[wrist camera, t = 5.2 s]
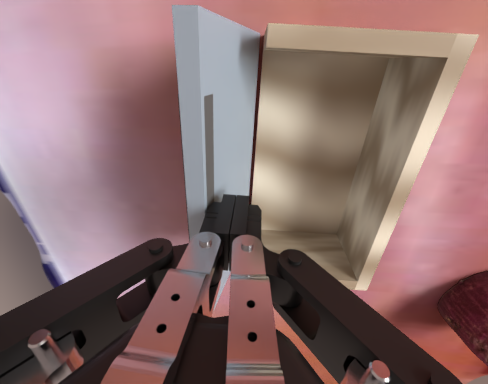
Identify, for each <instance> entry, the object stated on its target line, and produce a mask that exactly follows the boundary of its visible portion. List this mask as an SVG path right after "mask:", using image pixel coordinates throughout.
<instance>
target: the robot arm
mask: <svg viewBox="0 0 488 384" xmlns="http://www.w3.org/2000/svg"><path fill="white" fill-rule="evenodd" d="M261 216H262V210H261V209H260V207H259V206H258V205H251V204H249V196H245V195H237V197H236V195H230V194H223V198H222V201H221V202H213V203H212V204H211V205H210V206H208V209H207V212H206V215H205V218H204V220H203V223H202V226H201V229H200V231H199V233H198V234H196V235H195V236H193V237H192V239H191V240H190V242H189V243H188V244H184V245H178V246H172V243H171V242H170V241H169V240H167V239H164V238H156V239H152V240H149V241H147V242H145V243H143V244H141V245H139V246H137V247H135V248H133V249H131V250H129V251H127V252H125V253H123V254H121V255H119V256H117V257H115V258H113V259H111V260H109V261H107V262H105V263H103V264H102V265H100V266H98V267H96V268H94V269H92V270H90V271H88V272H86V273H84V274H82V275H80V276H78V277H76V278H74V279H72V280H70V281H68V282H66V283H64V284H62V285H60V286H58V287H56V288H54V289H52V290H50V291H48V292H46V293H44V294H42V295H41V296H39V297H37V298H35V299H33V300H31V301H29V302H27V303H25V304H23V305H21V306H19V307H17V308H15V309H13V310H11V311H9V312H7V313H5V314H3V315H1V316H0V384H324V382H323V381H322V380H321V379H320V377H319V376H318V375H317V373H316V372H315V371H314V369H313V368H312V367H311V365H310V364H309V363H308V362H307V360H306V359H305V358H304V356H303V355H302V354H301V352H300V351H299V350H298V349H297V347H296V346H295V345H294V344H293V342H292V341H291V340H290V339H289V338H288V337H286V336H285V335H284V334H283V333H281V332H280V331H278V330H277V329H276V328H275V321H274V313H273V307H274V308H275V310H276V311H277V312H278V313H279V314H280V315H281V317H282V318H283V319H284V320H285V321H286V322H287V324H288V325H289V326H290V327H291V328H292V329H293V331H294V332H295V333H296V334H297V335H298V336H299V338H300V339H301V340H302V341H303V342H304V344H305V345H306V346H307V347H308V348H309V349H310V351H311V352H312V353H313V354H314V355H315V356H316V358H317V359H318V360H319V361H320V362H321V363H322V365H323V366H324V367H325V368H326V369H327V370H328V372H329V373H330V374H331V375H332V376H333V377H334V379H335V380H336V381H337V382H338V383H339V384H462V383H461V382H460V381H459V379H458V378H457V377H456V376H455V375H453V374H452V373H451V372H450V371H449V370H447V369H446V368H445V367H444V366H443V365H441V364H440V363H439V362H438V361H436V360H435V359H434V358H433V357H431V356H430V355H429V354H428V353H427V352H425V351H424V350H423V349H422V348H420V347H419V346H418V345H417V344H416V343H414V342H413V341H412V340H411V339H409V338H408V337H407V336H406V335H404V334H403V333H402V332H401V331H400V330H398V329H397V328H396V327H395V326H393V325H392V324H391V323H390V322H389V321H387V320H386V319H385V318H384V317H382V316H381V315H380V314H379V313H377V312H376V311H375V310H374V309H373V308H371V307H370V306H369V305H368V304H366V303H365V302H364V301H363V300H362V299H360V298H359V297H358V296H357V295H355V294H354V293H353V292H352V291H350V290H349V289H348V288H347V287H346V286H344V285H343V284H342V283H341V282H339V281H338V280H337V279H336V278H335V277H333V276H332V275H331V274H330V273H328V272H327V271H326V270H325V269H323V268H322V267H321V266H320V265H319V264H317V263H316V262H315V261H314V260H312V259H311V258H310V257H309V256H308V255H306V254H305V253H303V252H302V251H299V250H296V249H287V250H284V251H282V252H281V253H280V254H278V253H275V252H272V251H270V250H268V249H267V248H266V247H265V246H264V245H263V243H262V239H261V220H262V217H261ZM228 267H229V271H231V279H230V301H229V316H224V317H217V318H211V317H212V313H213V310H214V306H215V302H216V299H217V295H218V292H219V288H220V284H221V278H222V273H223V270H225V271H228ZM143 279H145V280H146V281H145V282H144V283H142V284H141V285H139V286H137V287H136V288H134V289H133V290H131V291H129V292H128V293H126V294H125V295H123V296H121V297H120V298H118V296H119V295H120V294H121V293H122V292H124V291H125V290H127V289H129V288H130V287H132V286H133V285H135V284H137V283H138V282H140V281H142V280H143ZM117 298H118V299H117ZM272 304H273V305H272Z"/></svg>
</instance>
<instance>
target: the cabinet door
mask: <svg viewBox="0 0 488 384" xmlns="http://www.w3.org/2000/svg"><path fill="white" fill-rule="evenodd" d="M172 14H173V27H174V40H175V53H176V66H177V79H178V92H179V94H178V100H179V113H180V126H181V139H182V152H183V165H184V178H185V191H186V204H187V217H188V230H189V242H190V240H191V239H192V237H193V236H195V235H196V234H198V233H199V231H200V229H201V226H202V223H203V220H204V218H205V215H206V212H207V209H208V206H210V205H211V204H212V203H213V202H221V201H222V198H223V194H230V195H236V197H237V195H245V196H249V188H250V174H251V160H252V145H253V131H254V116H255V102H256V88H257V73H258V59H259V44H260V33H258V32H256V31H253V30H251V29H249V28H247V27H245V26H242V25H240V24H238V23H236V22H234V21H231V20H229V19H227V18H225V17H222V16H220V15H218V14H216V13H214V12H211V11H209V10H207V9H205V8H203V7H200V6H198V5H172ZM230 272H231V271H229V267H228V271H225V270H223V273H222V278H221V284H220V288H219V292H218V295H217V299H216V302H215V306H216V304H217V302H218V300H219V297H220V295H221V293H222V290H223V288H224V286H225V284H226V281H227V279H228V277H229V274H230ZM215 306H214V309H215ZM213 311H214V310H213Z"/></svg>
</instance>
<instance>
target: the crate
mask: <svg viewBox="0 0 488 384" xmlns="http://www.w3.org/2000/svg"><path fill="white" fill-rule="evenodd" d="M478 36H479V35H476V34H458V33H440V32H422V31H404V30H386V29H368V28H350V27H332V26H314V25H296V24H278V23H268V25H267V28H266V31H265V34H264V43H263V57H262V70H261V83H260V96H259V109H258V122H257V135H256V148H255V161H254V175H253V188H252V201H251V205H258V206H259V207H260V209H261V210H262V216H261V217H262V220H261V239H262V243H263V245H264V246H265V247H266V248H267V249H268V250H270V251H272V252H275V253H278V254H280V253H281V252H282V251H284V250H287V249H296V250H299V251H302V252H303V253H305V254H306V255H308V256H309V257H310V258H311V259H312V260H314V261H315V262H316V263H317V264H319V265H320V266H321V267H322V268H323V269H325V270H326V271H327V272H328V273H330V274H331V275H332V276H333V277H335V278H336V279H337V280H338V281H339V282H341V283H342V284H343V285H344V286H346V287H347V288H348V289H351V290H366V291H367V288H368V286H369V284H370V282H371V279H372V277H373V275H374V272H375V270H376V268H377V266H378V263H379V261H380V259H381V257H382V254H383V252H384V250H385V247H386V245H387V243H388V241H389V238H390V236H391V234H392V232H393V229H394V227H395V225H396V222H397V220H398V218H399V216H400V213H401V211H402V209H403V207H404V204H405V202H406V200H407V197H408V195H409V193H410V191H411V188H412V186H413V184H414V182H415V179H416V177H417V175H418V172H419V170H420V168H421V166H422V163H423V161H424V159H425V157H426V154H427V152H428V150H429V148H430V145H431V143H432V141H433V138H434V136H435V134H436V132H437V129H438V127H439V125H440V123H441V120H442V118H443V116H444V113H445V111H446V109H447V107H448V104H449V102H450V100H451V98H452V95H453V93H454V91H455V88H456V86H457V84H458V82H459V79H460V77H461V75H462V73H463V70H464V68H465V66H466V63H467V61H468V59H469V57H470V54H471V52H472V50H473V48H474V45H475V43H476V41H477V38H478Z"/></svg>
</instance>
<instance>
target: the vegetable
mask: <svg viewBox="0 0 488 384" xmlns="http://www.w3.org/2000/svg"><path fill="white" fill-rule="evenodd" d="M438 310H439V312H440V314H441V315H442V317H443V318H444V319H445V320H446V322H447V323H448V324H449V326H450V327H451V328H452V329H453V330H454V331H455V332H456V333H457V335H458V336H459V337H460V338H461V339H462V340H463V342H464V343H465V344H466V345H467V346H468V348H469V349H470V350H471V351H472V352H473V353H474V354H475V355H476V356H477V357H478V358H479V359H480V360H482V361H483V362H484V363H485V364H486V365H487V366H488V271H485V272H482V273H478V274H475V275H473V276H471V277H469V278H466V279H465V280H460V281H459V283H458V284H456V285H455V286H454V287H452V288H451V289H449V291H447V292H446V293H445V294H444V295H443V296H442V297H441V299H440V301H439V303H438Z"/></svg>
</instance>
